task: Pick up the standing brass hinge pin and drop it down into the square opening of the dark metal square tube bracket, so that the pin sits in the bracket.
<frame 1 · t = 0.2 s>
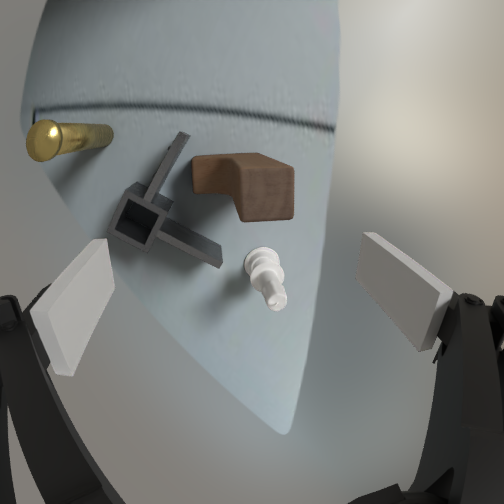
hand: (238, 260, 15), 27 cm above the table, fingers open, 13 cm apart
wooden block: (226, 169, 40), on the table
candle: (261, 262, 46), on the table
hinge pin: (103, 135, 35), on the table
square tube bracket: (146, 210, 40), on the table
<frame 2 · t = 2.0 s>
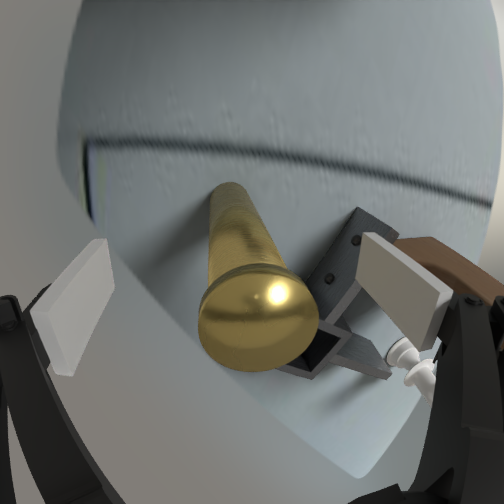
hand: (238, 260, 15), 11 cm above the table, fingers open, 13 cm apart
wooden block: (396, 256, 29), on the table
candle: (402, 349, 35), on the table
hinge pin: (229, 201, 24), on the table
square tube bracket: (290, 310, 29), on the table
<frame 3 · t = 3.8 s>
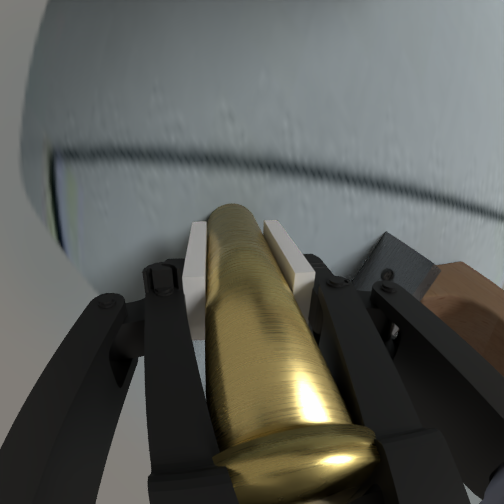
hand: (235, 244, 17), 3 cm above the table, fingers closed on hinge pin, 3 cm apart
wooden block: (424, 285, 24), on the table
hinge pin: (231, 227, 19), on the table, touching gripper
square tube bracket: (303, 351, 24), on the table
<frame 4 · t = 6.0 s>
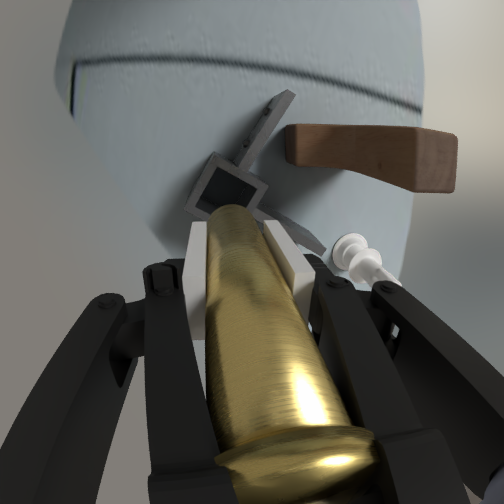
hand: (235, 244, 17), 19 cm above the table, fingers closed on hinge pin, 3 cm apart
wooden block: (320, 143, 33), on the table
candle: (349, 251, 39), on the table
hinge pin: (231, 228, 19), point 16 cm above the table, touching gripper
square tube bracket: (223, 186, 34), on the table
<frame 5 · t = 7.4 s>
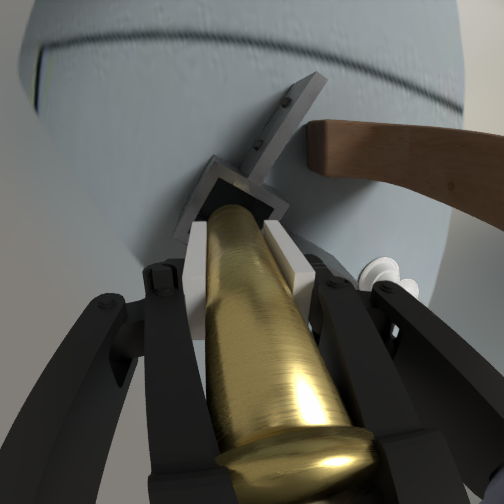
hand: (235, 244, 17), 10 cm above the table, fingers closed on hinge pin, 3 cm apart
wooden block: (350, 146, 25), on the table
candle: (378, 277, 31), on the table
hinge pin: (231, 228, 19), point 7 cm above the table, touching gripper
square tube bracket: (226, 201, 26), on the table
when the fingers open (8 cm above the table, at t = 8.5 s): hinge pin drops 4 cm, resting in square tube bracket.
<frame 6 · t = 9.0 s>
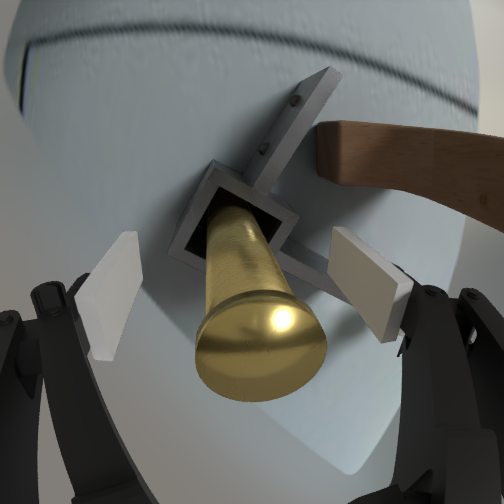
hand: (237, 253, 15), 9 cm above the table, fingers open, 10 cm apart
wooden block: (363, 150, 23), on the table
hinge pin: (228, 210, 23), resting in square tube bracket
square tube bracket: (227, 210, 23), on the table
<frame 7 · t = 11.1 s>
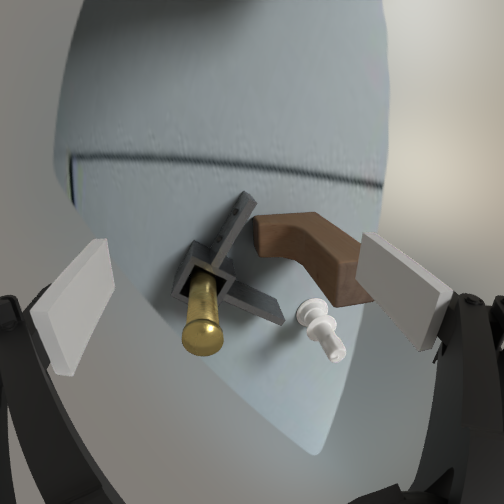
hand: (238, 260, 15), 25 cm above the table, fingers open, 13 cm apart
wooden block: (284, 228, 42), on the table
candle: (311, 311, 47), on the table
hinge pin: (203, 267, 42), resting in square tube bracket
square tube bracket: (203, 267, 42), on the table
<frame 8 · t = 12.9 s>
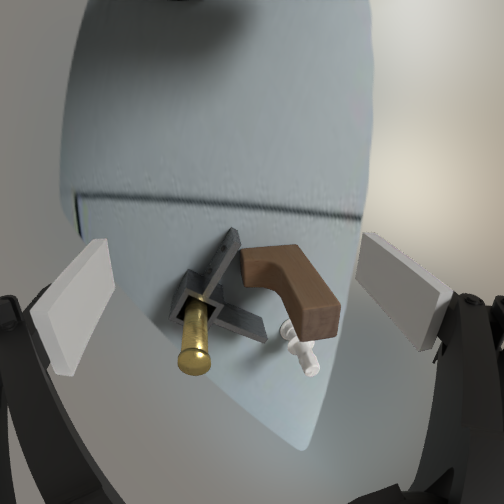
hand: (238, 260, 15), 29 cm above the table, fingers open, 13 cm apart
wooden block: (268, 258, 47), on the table
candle: (294, 327, 53), on the table
hinge pin: (197, 292, 47), resting in square tube bracket
square tube bracket: (197, 291, 47), on the table
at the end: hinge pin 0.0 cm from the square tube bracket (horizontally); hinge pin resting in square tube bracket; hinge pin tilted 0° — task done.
